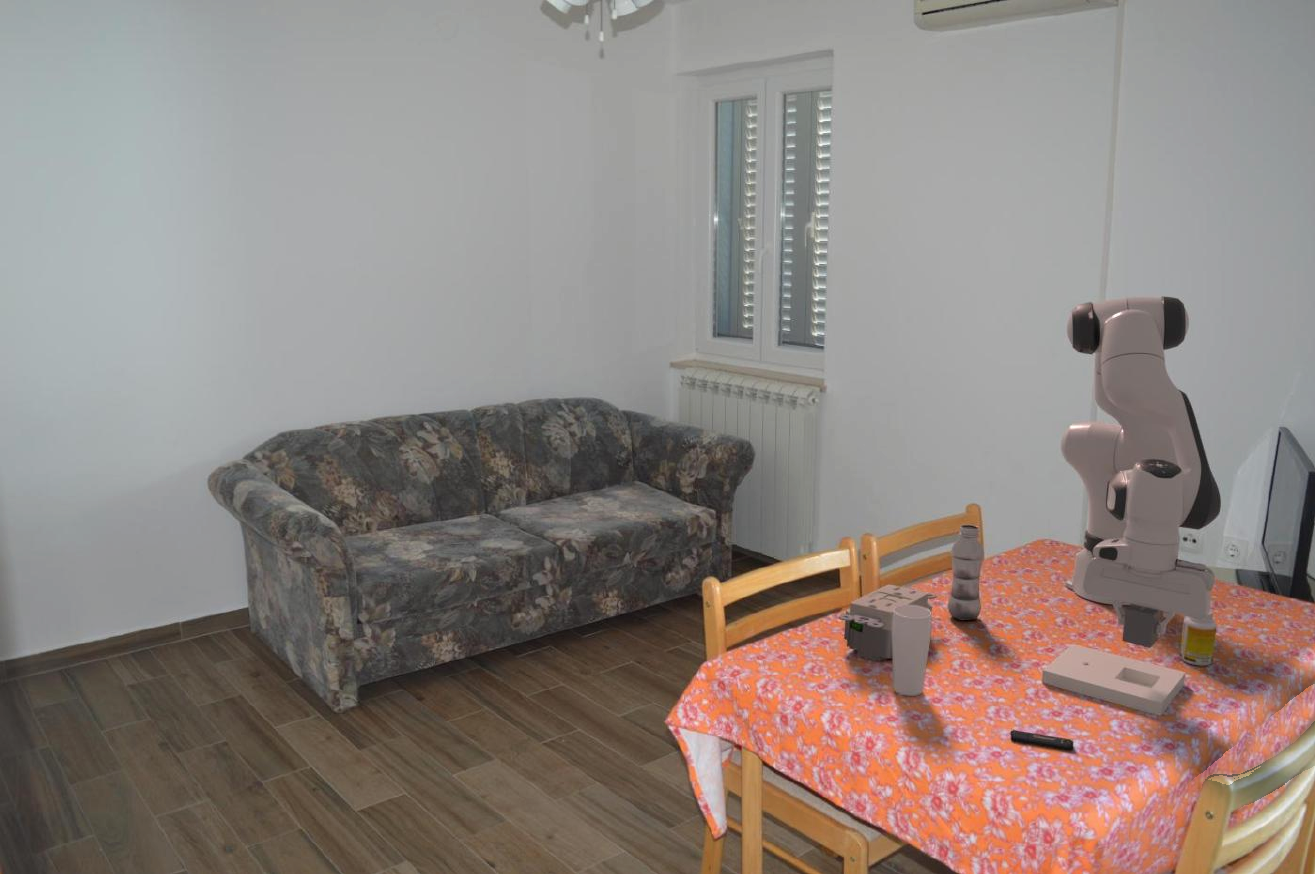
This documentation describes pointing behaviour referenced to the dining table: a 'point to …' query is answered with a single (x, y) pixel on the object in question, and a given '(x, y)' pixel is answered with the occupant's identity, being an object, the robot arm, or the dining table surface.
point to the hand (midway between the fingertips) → (1141, 629)
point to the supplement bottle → (1198, 640)
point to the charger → (1140, 625)
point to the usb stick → (1042, 740)
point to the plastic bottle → (966, 574)
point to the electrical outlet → (878, 619)
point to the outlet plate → (1115, 679)
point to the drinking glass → (910, 647)
